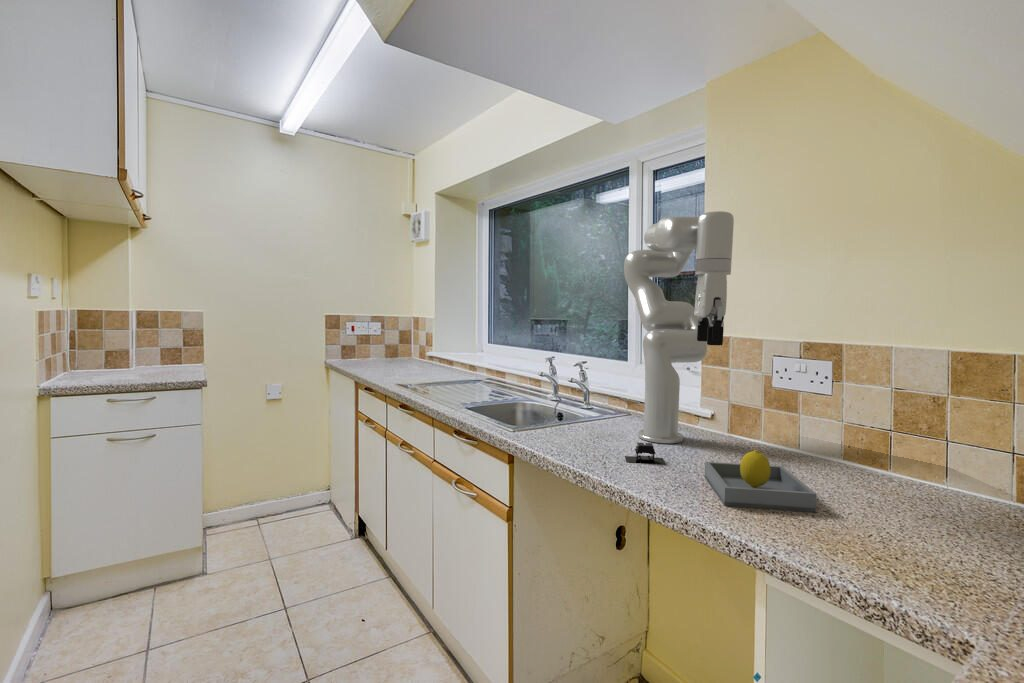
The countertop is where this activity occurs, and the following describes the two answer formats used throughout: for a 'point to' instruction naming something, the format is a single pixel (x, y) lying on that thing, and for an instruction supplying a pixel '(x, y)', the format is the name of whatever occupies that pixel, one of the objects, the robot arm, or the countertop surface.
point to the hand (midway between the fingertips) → (709, 343)
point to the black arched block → (645, 459)
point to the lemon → (755, 469)
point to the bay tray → (759, 489)
